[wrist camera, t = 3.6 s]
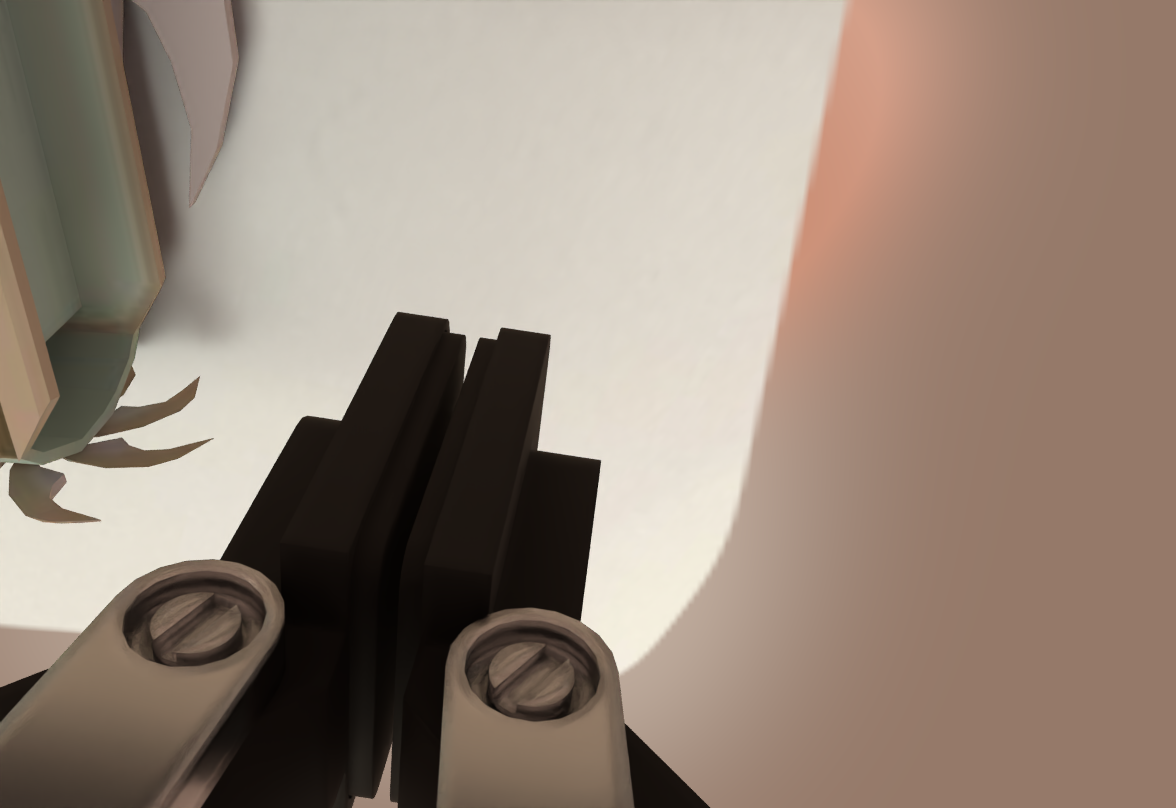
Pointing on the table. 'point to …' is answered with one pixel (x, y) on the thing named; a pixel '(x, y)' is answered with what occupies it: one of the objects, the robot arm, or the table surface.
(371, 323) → the table surface
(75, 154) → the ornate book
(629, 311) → the table surface
